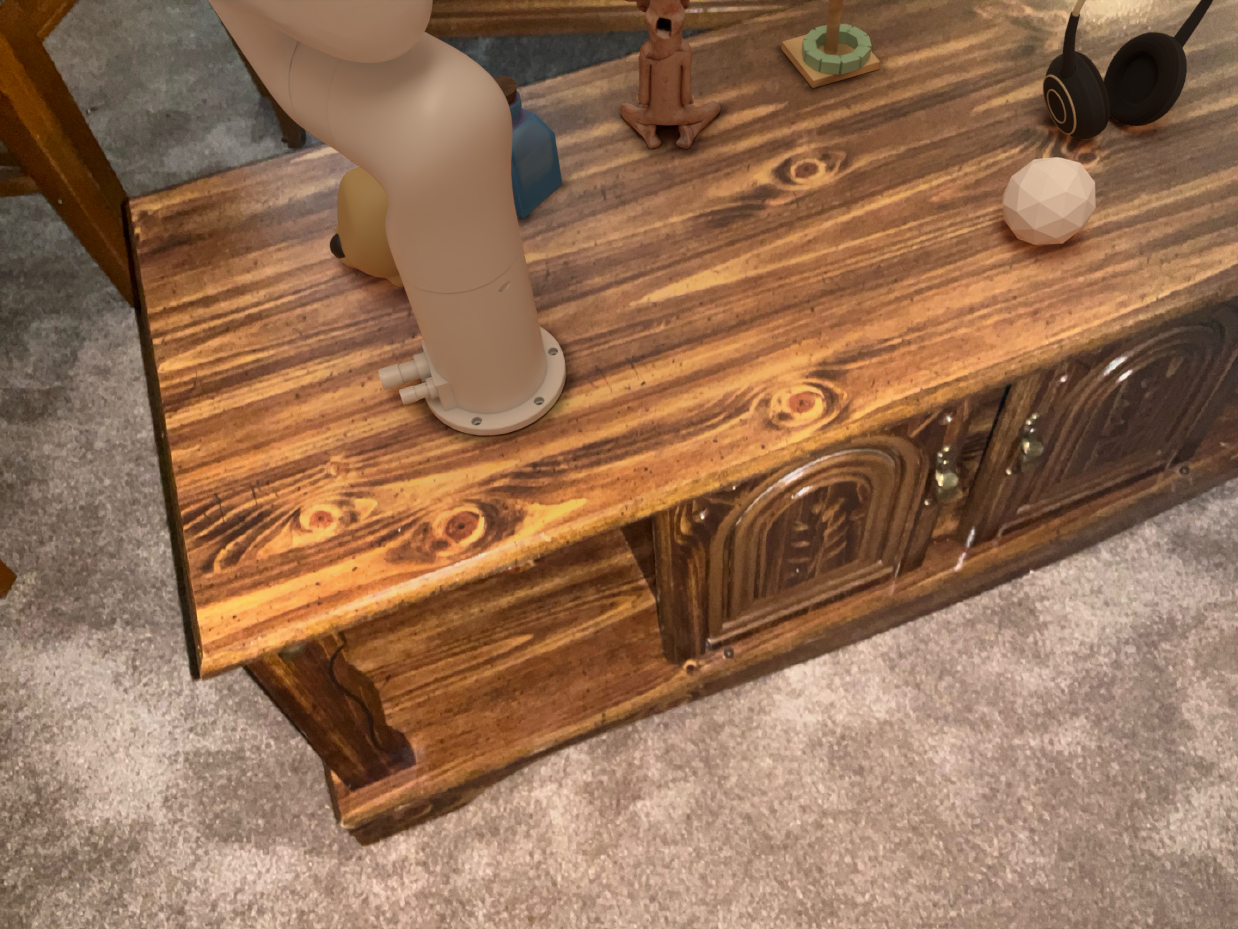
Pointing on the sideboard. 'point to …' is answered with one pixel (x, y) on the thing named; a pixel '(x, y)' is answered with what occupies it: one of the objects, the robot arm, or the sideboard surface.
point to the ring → (834, 62)
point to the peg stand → (826, 51)
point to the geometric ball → (1049, 200)
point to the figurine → (666, 77)
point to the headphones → (1118, 80)
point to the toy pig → (363, 227)
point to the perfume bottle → (530, 153)
